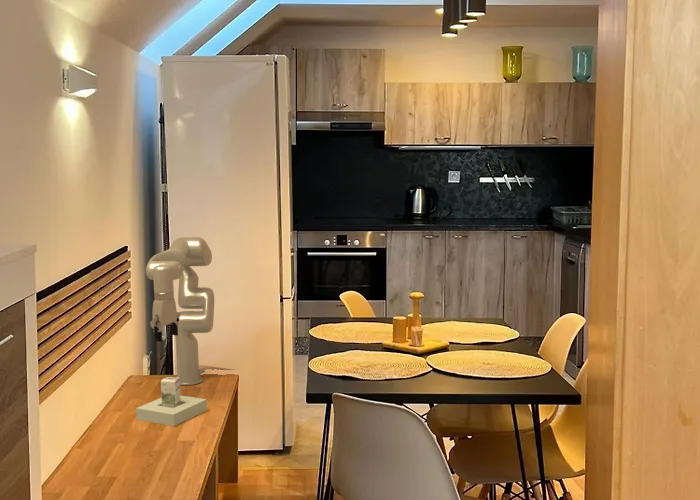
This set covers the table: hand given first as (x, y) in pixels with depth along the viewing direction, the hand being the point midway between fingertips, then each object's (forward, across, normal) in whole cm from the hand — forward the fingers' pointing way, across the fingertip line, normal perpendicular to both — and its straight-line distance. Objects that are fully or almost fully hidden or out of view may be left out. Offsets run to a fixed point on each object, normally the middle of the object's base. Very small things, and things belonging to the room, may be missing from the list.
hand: (166, 338), depth 323 cm
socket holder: (+27, +10, +9) cm, 30 cm away
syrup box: (+28, +10, +9) cm, 31 cm away
